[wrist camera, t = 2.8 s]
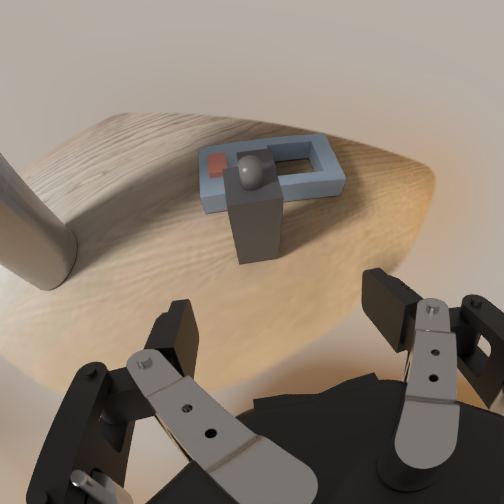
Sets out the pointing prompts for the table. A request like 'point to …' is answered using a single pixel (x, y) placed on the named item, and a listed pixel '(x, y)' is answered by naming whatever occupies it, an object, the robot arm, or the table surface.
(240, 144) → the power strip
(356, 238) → the table surface
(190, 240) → the table surface
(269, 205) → the black plug
